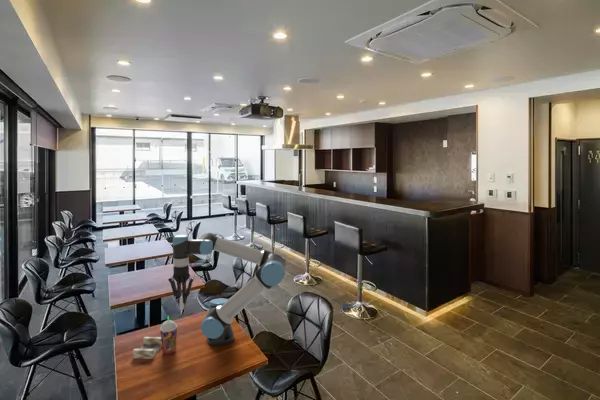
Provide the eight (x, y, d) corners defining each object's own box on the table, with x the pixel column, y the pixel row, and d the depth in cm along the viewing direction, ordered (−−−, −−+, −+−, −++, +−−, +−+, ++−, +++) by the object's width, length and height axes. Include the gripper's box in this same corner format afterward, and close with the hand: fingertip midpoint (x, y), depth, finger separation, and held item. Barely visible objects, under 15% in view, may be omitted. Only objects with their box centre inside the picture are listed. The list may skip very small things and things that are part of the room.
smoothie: (172, 357, 173) (170, 320, 170) (157, 355, 175) (156, 318, 172) (180, 348, 181) (179, 313, 179) (166, 346, 183) (165, 311, 180)
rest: (163, 344, 184) (162, 337, 184) (152, 358, 171) (152, 350, 171) (144, 344, 184) (144, 336, 184) (133, 358, 171) (132, 350, 171)
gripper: (196, 263, 176) (196, 305, 179) (171, 262, 176) (172, 305, 179) (191, 267, 168) (192, 312, 171) (165, 267, 168) (166, 311, 171)
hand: (182, 308), depth 175 cm, fingers closed
